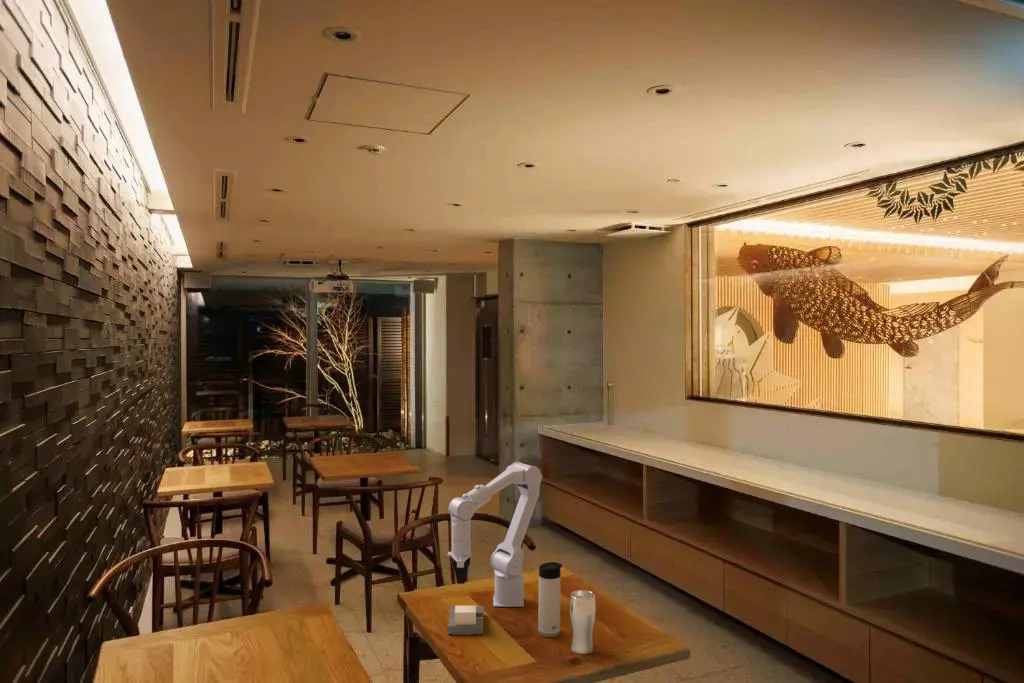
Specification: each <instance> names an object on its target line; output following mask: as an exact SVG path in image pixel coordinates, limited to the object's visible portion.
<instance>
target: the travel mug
mask: <svg viewBox="0 0 1024 683" xmlns="http://www.w3.org/2000/svg"><path fill="white" fill-rule="evenodd" d="M562 568H563V564H562V563H560V562H554V561H553V562H552V561H551V562H545V563H542V564H540V566H539V567H538V602H537V603H538V605H537V606H538V608H537V609H538V612H537V614H538V616H537V617H538V618H537V620H538V623H537V624H538V625H537V627H538V628H537V632H538V634H539V635H540V636H541V637H544V638H556V637H558V636H559V635H560V634H561V591H562V590H561V589H562V588H561V583H562V582H561V581H562V579H561V576H562V575H561V574H562V573H561V570H562Z"/></svg>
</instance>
